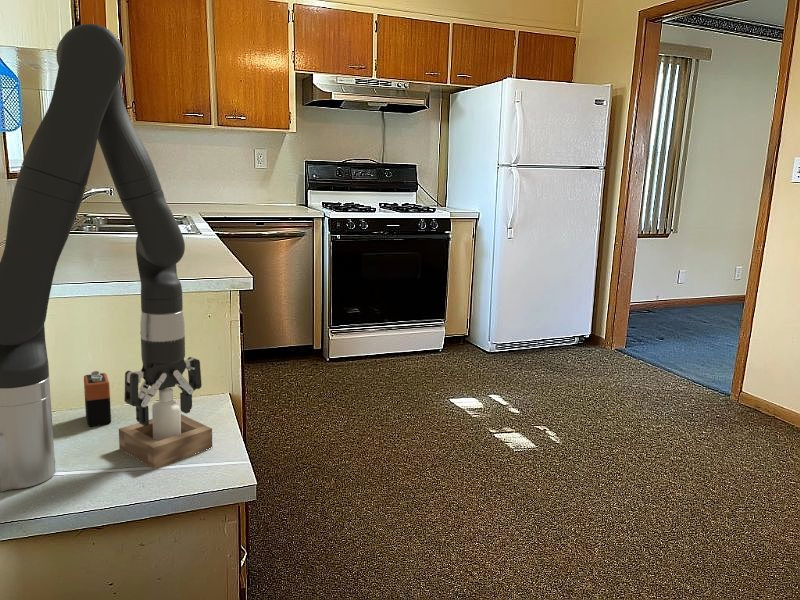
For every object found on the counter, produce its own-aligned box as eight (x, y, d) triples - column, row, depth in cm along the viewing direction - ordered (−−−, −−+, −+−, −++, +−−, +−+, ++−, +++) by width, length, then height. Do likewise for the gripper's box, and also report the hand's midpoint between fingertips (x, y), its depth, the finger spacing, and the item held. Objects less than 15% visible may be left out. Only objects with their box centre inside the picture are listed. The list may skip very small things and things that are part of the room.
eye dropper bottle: (175, 435, 120) (174, 376, 118) (182, 446, 116) (181, 385, 114) (151, 439, 118) (150, 379, 116) (158, 451, 114) (156, 388, 111)
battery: (88, 427, 125) (85, 380, 123) (85, 415, 130) (83, 370, 128) (111, 424, 127) (109, 377, 125) (108, 412, 133) (106, 368, 131)
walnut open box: (154, 471, 109) (153, 447, 108) (119, 451, 116) (118, 428, 115) (212, 450, 118) (212, 428, 117) (176, 432, 125) (176, 411, 125)
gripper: (136, 345, 105) (140, 435, 108) (208, 331, 116) (209, 413, 119) (114, 337, 109) (118, 423, 113) (185, 324, 120) (187, 403, 124)
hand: (165, 418), depth 116 cm, fingers open, 8 cm apart
